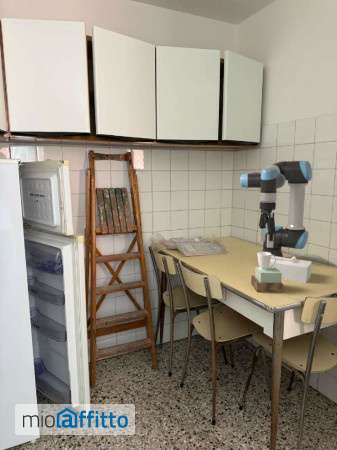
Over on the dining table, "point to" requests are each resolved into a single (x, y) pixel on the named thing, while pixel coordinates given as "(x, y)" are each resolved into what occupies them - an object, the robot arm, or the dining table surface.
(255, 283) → the walnut block
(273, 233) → the robot arm
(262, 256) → the cup
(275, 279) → the sage block
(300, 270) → the elongated white prism
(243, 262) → the dining table surface
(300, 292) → the dining table surface
